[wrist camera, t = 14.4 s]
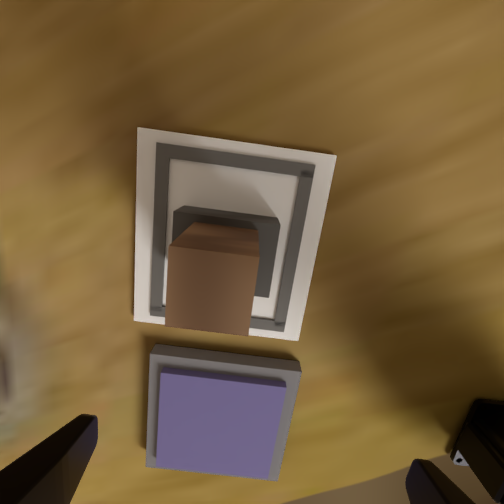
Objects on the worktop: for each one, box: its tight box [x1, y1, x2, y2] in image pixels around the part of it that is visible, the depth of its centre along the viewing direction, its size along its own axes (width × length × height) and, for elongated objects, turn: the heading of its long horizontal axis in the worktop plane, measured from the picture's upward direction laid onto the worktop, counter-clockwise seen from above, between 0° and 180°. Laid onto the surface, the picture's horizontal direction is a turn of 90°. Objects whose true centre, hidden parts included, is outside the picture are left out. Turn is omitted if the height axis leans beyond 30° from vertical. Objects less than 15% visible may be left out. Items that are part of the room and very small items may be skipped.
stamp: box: [165, 205, 281, 336], centre depth 15 cm, size 6×4×8 cm
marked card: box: [134, 127, 337, 341], centre depth 19 cm, size 12×13×1 cm
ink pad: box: [146, 344, 302, 481], centre depth 23 cm, size 11×11×2 cm
